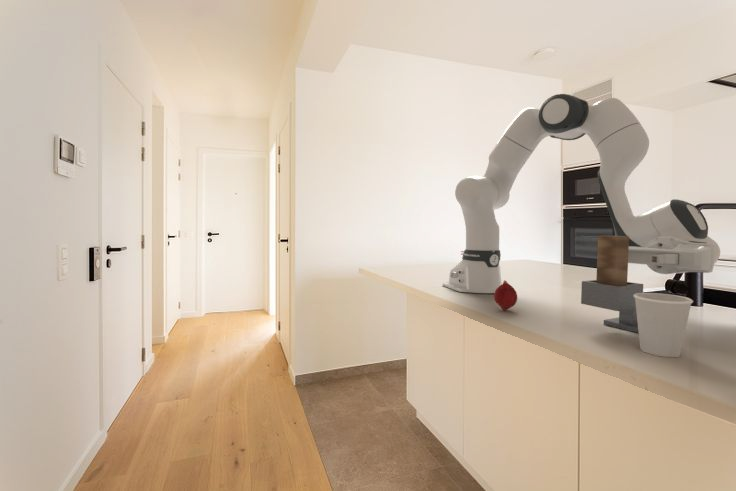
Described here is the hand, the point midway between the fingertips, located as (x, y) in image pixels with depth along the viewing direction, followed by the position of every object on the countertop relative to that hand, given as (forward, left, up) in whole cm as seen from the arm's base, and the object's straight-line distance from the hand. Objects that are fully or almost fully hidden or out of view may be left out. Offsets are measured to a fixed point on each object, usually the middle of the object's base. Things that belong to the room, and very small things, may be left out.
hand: (631, 257), depth 81 cm
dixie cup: (+12, -11, -16) cm, 23 cm away
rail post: (0, -6, -9) cm, 11 cm away
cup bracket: (0, -3, -16) cm, 16 cm away
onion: (-24, -12, -16) cm, 31 cm away
